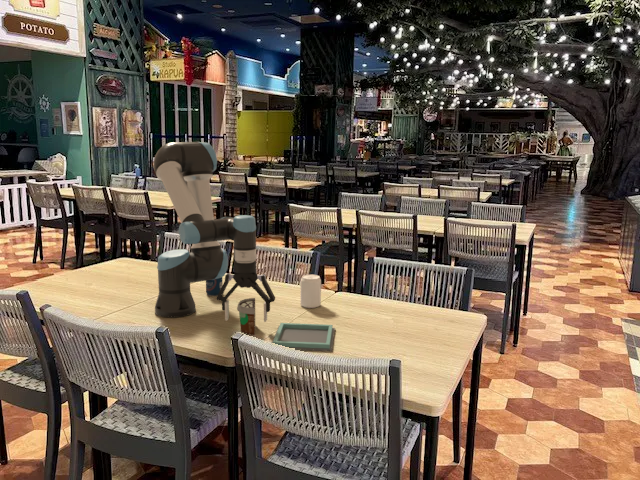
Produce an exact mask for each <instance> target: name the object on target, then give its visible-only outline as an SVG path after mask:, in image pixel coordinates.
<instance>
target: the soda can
mask: <svg viewBox="0 0 640 480" xmlns="http://www.w3.org/2000/svg"><path fill="white" fill-rule="evenodd" d="M223 284H224V281H223V277H222V278H218V279H214V280H207V281H205V291H206V292H205V293H206V294H207V295H208V296H209V297H217V296H218V294H219V292H220V290H221V288H222V286H223Z"/></svg>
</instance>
